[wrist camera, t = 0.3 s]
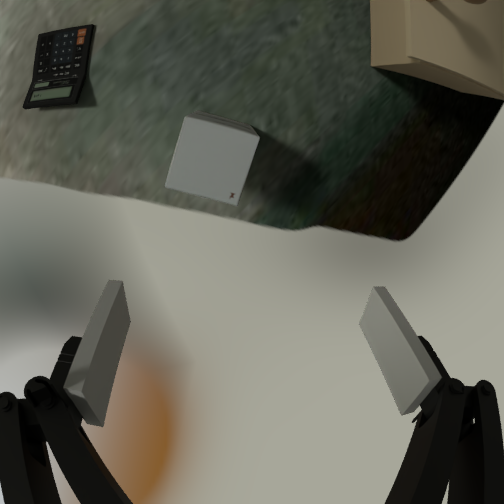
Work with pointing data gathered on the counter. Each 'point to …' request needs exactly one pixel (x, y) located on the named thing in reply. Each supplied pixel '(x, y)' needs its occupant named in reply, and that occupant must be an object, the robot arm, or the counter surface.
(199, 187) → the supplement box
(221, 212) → the counter surface
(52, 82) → the calculator
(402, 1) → the carton
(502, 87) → the flap
